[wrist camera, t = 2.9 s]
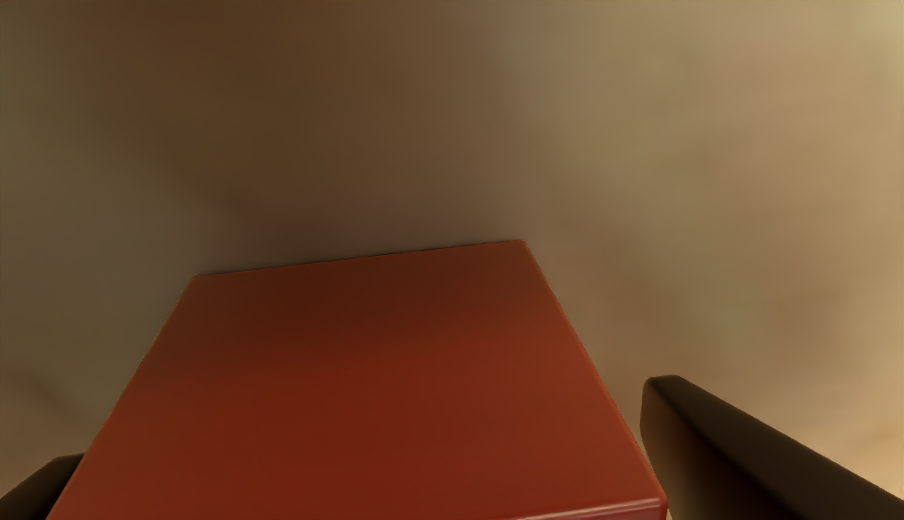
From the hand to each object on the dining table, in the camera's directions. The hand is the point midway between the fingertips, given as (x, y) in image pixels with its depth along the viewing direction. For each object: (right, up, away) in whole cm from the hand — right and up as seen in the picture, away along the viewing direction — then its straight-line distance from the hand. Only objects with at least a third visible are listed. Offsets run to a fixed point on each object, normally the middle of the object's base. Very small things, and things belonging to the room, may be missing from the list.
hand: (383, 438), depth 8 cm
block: (0, 0, +1) cm, 1 cm away
